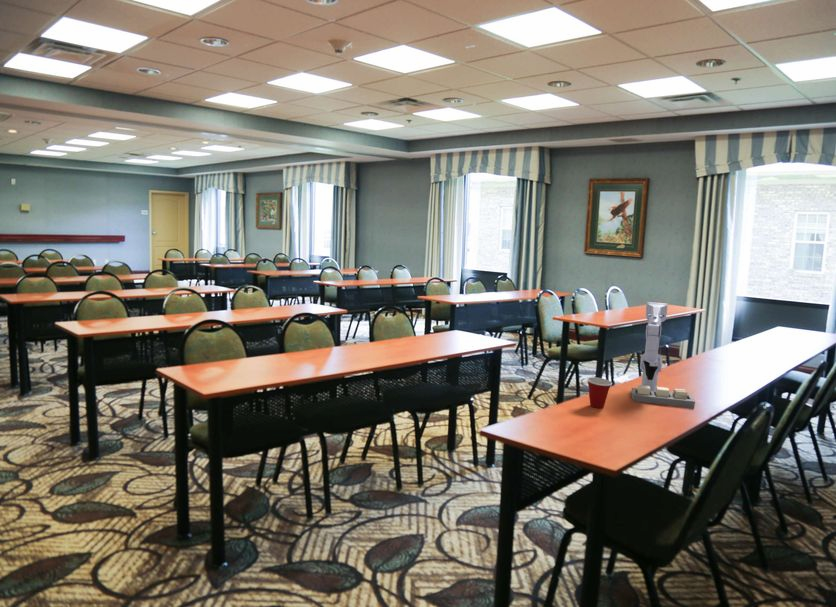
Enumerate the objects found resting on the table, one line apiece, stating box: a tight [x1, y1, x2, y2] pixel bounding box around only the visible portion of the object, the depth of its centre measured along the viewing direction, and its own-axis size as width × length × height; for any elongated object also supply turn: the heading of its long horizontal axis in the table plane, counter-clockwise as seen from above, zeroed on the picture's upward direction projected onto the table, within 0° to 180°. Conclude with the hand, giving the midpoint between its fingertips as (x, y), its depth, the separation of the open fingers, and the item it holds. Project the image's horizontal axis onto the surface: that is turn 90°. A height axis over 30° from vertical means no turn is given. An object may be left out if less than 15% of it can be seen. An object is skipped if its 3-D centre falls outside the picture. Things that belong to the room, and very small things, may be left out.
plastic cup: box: [586, 376, 613, 409], centre depth 267 cm, size 11×11×12 cm
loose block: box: [672, 388, 689, 399], centre depth 278 cm, size 5×5×5 cm
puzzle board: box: [630, 384, 696, 409], centre depth 280 cm, size 13×26×6 cm, turn 74°
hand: (649, 377), depth 284 cm, fingers open, 7 cm apart
